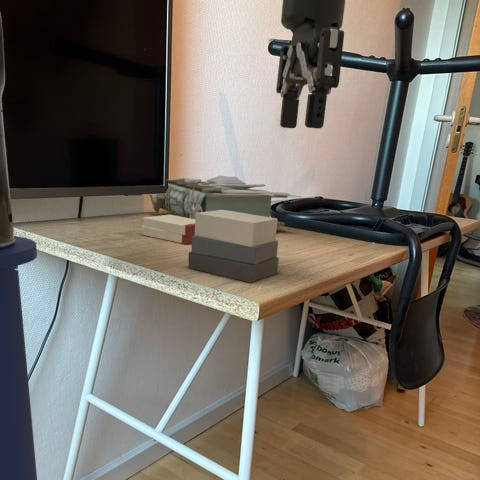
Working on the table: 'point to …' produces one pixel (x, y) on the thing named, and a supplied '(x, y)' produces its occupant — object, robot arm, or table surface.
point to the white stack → (169, 228)
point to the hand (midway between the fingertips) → (300, 128)
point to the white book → (236, 227)
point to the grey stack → (233, 259)
